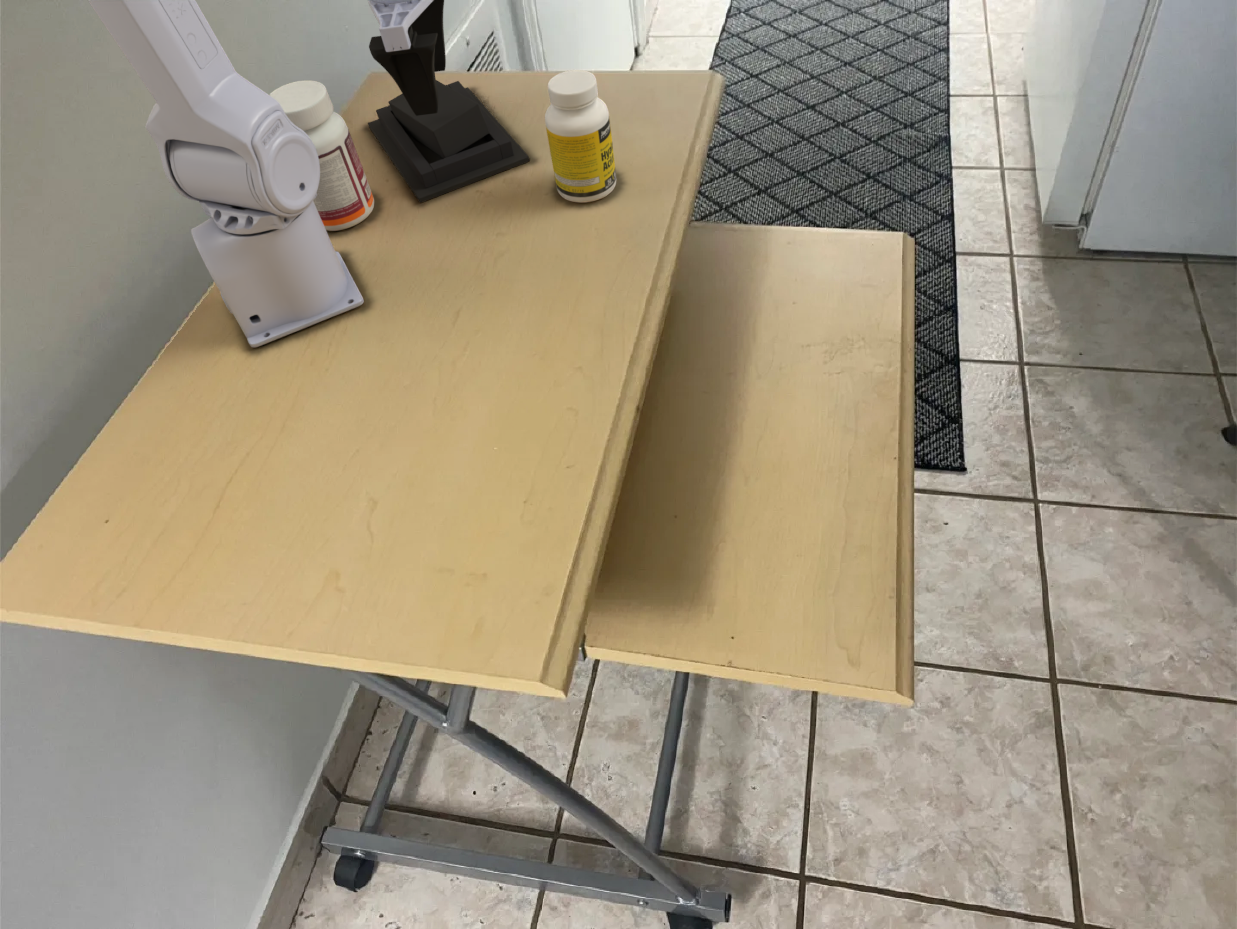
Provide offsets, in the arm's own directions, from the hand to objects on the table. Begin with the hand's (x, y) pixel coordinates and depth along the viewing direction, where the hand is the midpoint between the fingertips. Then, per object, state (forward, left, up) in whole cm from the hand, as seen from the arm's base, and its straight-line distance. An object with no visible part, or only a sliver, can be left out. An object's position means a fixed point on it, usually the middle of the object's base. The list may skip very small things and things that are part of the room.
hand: (431, 90), depth 84 cm
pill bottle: (-12, -5, -6) cm, 14 cm away
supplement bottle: (+8, -15, -6) cm, 18 cm away
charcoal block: (0, 0, -4) cm, 4 cm away
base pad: (0, 0, -5) cm, 5 cm away
